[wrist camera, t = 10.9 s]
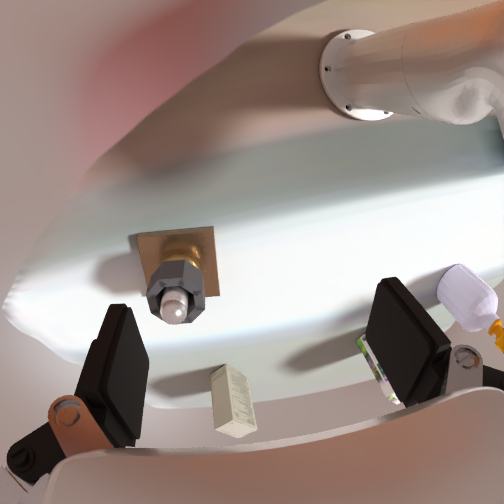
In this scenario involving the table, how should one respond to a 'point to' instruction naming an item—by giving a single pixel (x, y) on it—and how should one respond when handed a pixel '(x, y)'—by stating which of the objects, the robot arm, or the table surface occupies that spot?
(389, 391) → the syrup box
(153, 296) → the ring
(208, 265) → the post stand
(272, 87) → the table surface
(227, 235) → the table surface
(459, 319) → the soap bottle
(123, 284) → the table surface
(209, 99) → the table surface
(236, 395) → the skincare box
